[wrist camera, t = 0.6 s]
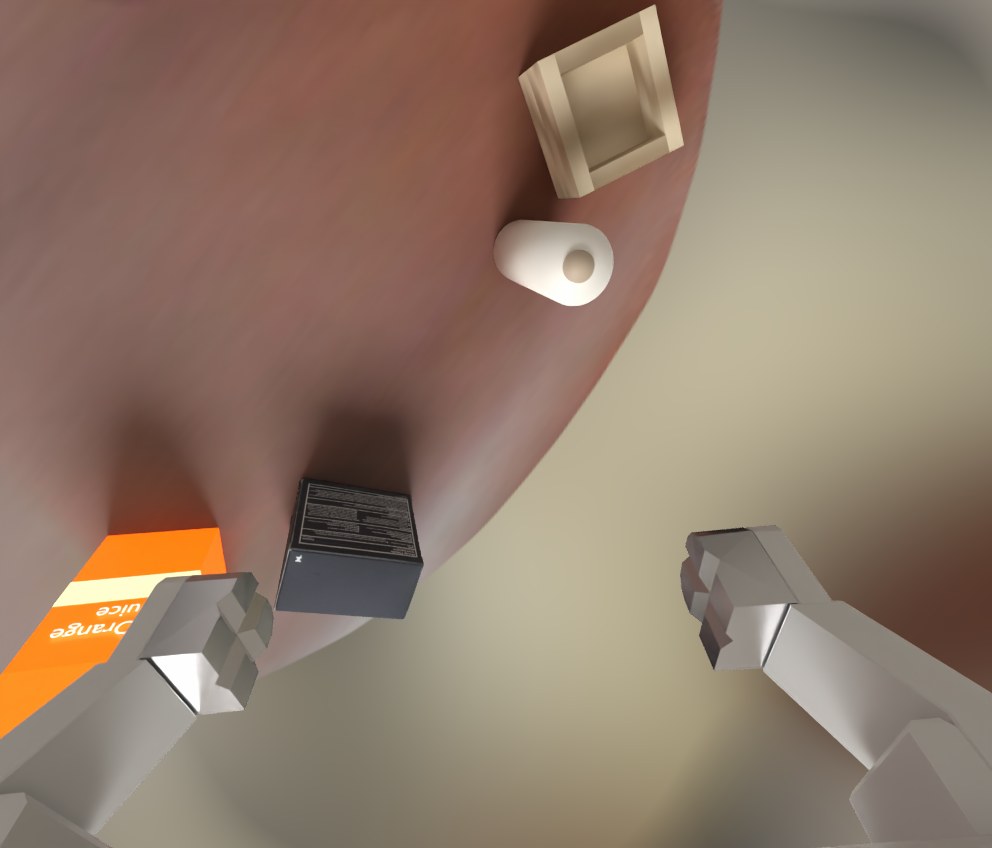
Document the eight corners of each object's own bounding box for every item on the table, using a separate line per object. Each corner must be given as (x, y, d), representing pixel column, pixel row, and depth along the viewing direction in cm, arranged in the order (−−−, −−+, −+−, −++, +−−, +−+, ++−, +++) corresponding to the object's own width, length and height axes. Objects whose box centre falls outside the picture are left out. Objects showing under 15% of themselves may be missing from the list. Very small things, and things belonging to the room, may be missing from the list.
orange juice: (230, 593, 48) (154, 820, 30) (125, 604, 45) (-24, 857, 28) (219, 525, 45) (127, 734, 27) (105, 533, 42) (-76, 767, 25)
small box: (286, 534, 47) (269, 615, 37) (300, 475, 45) (285, 545, 36) (395, 548, 50) (404, 625, 41) (413, 494, 49) (426, 562, 39)
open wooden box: (518, 77, 37) (537, 61, 33) (623, 26, 37) (655, 4, 33) (558, 198, 41) (579, 197, 37) (652, 151, 41) (683, 145, 37)
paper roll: (483, 235, 41) (530, 246, 30) (537, 209, 41) (603, 209, 30) (506, 291, 43) (558, 320, 32) (557, 265, 43) (625, 285, 32)
